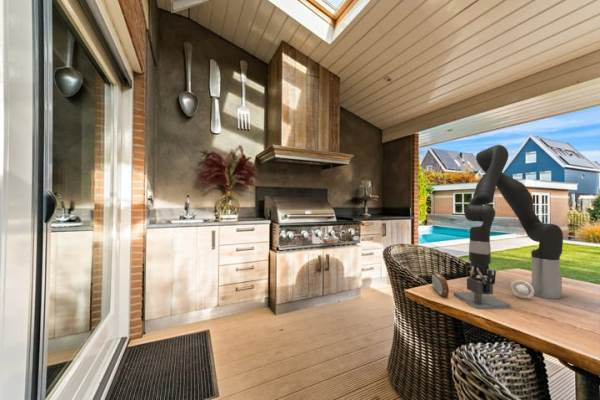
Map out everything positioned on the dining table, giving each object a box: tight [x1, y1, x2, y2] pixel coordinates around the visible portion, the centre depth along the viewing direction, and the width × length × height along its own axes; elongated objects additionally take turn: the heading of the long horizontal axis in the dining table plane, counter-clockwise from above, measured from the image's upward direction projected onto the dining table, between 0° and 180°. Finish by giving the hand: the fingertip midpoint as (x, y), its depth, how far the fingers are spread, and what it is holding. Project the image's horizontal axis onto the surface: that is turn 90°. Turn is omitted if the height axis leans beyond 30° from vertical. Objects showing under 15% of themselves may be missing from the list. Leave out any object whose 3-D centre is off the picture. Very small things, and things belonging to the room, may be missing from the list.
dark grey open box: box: [466, 277, 494, 295], centre depth 105 cm, size 6×6×5 cm
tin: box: [431, 272, 450, 297], centre depth 115 cm, size 15×3×8 cm, turn 168°
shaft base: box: [453, 280, 512, 310], centre depth 105 cm, size 14×14×9 cm
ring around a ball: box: [510, 279, 535, 300], centre depth 108 cm, size 8×6×8 cm
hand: (479, 290), depth 105 cm, fingers closed on dark grey open box, 6 cm apart
